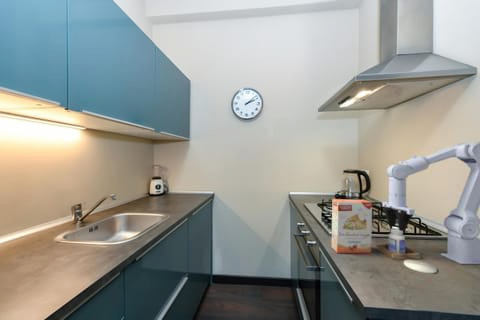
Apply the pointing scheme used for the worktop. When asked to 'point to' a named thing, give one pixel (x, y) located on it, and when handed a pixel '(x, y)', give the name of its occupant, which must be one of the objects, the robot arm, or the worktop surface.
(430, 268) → the white disc
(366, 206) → the cracker box
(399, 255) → the socket block
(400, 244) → the pill bottle
